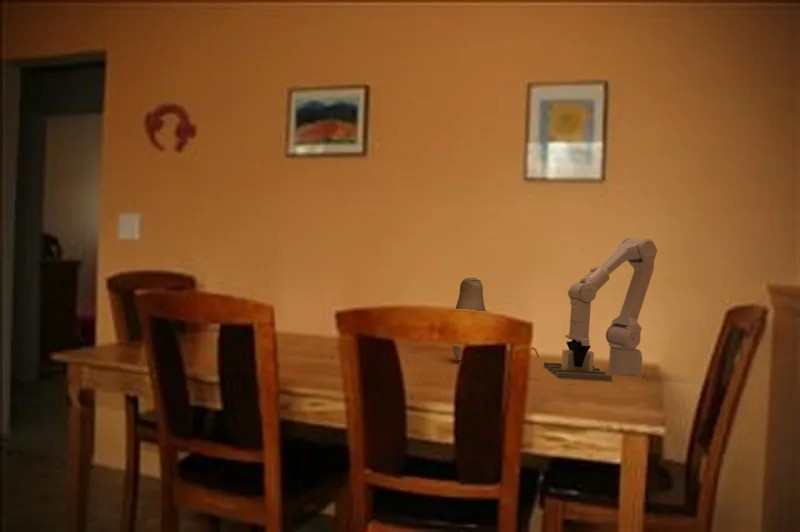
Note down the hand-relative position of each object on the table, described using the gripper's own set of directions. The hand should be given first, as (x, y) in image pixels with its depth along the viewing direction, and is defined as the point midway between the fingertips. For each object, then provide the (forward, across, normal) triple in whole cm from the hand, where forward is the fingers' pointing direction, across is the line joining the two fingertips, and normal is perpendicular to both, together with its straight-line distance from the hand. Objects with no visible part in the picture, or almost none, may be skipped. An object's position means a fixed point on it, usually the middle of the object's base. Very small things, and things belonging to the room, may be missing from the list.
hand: (576, 365), depth 194 cm
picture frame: (+2, 0, 0) cm, 2 cm away
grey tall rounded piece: (+4, -14, -32) cm, 35 cm away
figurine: (+4, +11, -19) cm, 22 cm away
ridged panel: (+3, 0, 0) cm, 3 cm away
